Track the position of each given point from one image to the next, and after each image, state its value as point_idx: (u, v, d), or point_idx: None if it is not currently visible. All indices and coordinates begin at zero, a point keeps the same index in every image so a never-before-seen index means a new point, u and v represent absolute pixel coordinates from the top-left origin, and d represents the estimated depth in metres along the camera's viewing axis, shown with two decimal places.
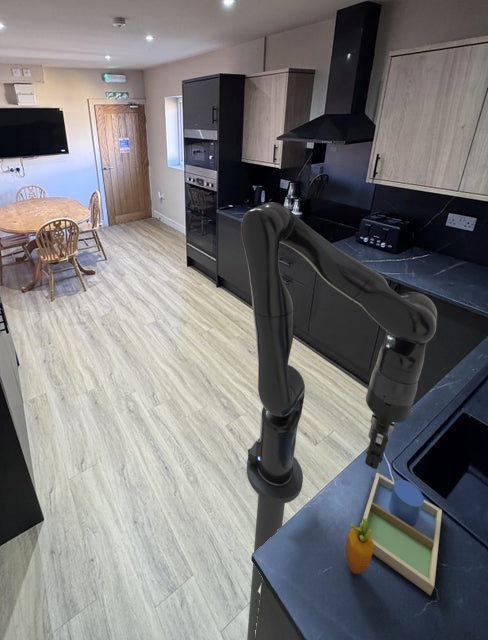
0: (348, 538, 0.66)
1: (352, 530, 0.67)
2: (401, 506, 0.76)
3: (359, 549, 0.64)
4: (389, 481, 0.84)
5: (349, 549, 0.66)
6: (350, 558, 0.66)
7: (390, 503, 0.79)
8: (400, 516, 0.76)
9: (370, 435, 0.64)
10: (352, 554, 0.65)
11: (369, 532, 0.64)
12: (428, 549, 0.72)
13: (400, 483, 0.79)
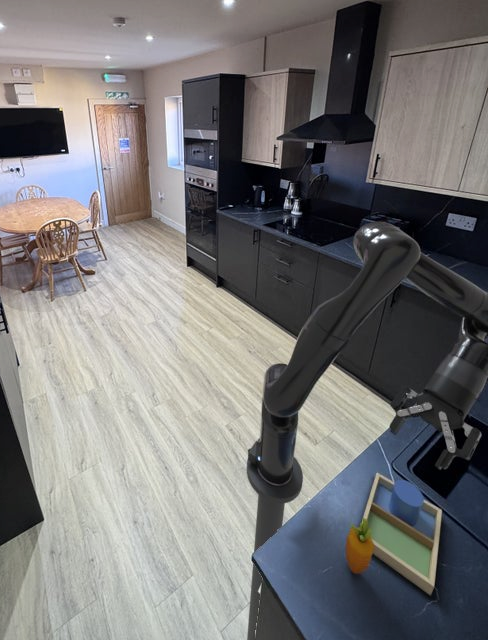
0: (348, 538, 0.66)
1: (352, 530, 0.67)
2: (401, 506, 0.76)
3: (359, 549, 0.64)
4: (389, 481, 0.84)
5: (349, 549, 0.66)
6: (350, 558, 0.66)
7: (390, 503, 0.79)
8: (400, 516, 0.76)
9: (451, 435, 0.62)
10: (352, 554, 0.65)
11: (369, 532, 0.64)
12: (428, 549, 0.72)
13: (400, 483, 0.79)
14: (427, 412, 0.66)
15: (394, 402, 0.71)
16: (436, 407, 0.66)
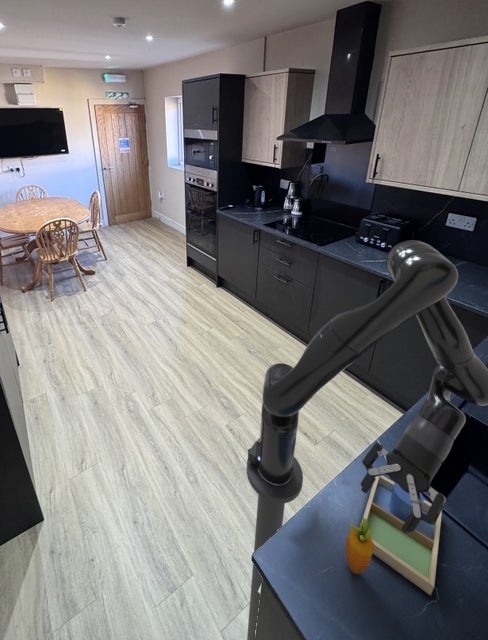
0: (348, 538, 0.66)
1: (352, 530, 0.67)
2: (401, 506, 0.76)
3: (359, 549, 0.64)
4: (389, 481, 0.84)
5: (349, 549, 0.66)
6: (350, 558, 0.66)
7: (390, 503, 0.79)
8: (400, 516, 0.76)
9: (417, 499, 0.64)
10: (352, 554, 0.65)
11: (369, 532, 0.64)
12: (428, 549, 0.72)
13: None
14: (396, 472, 0.69)
15: (366, 460, 0.73)
16: (404, 469, 0.68)
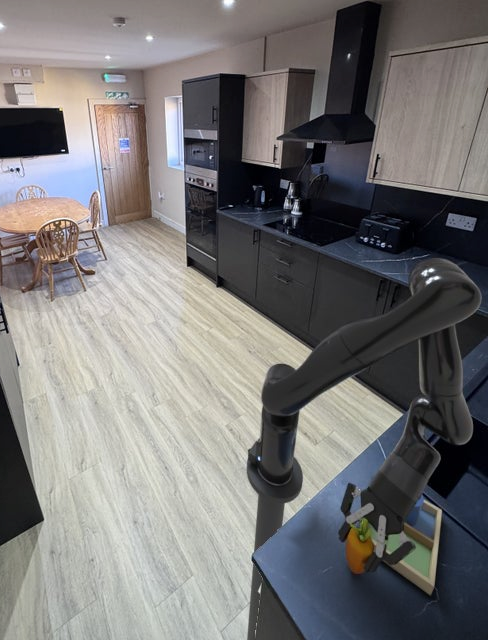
0: (348, 538, 0.66)
1: (352, 530, 0.67)
2: None
3: (359, 549, 0.64)
4: None
5: (349, 549, 0.66)
6: (350, 558, 0.66)
7: None
8: None
9: (384, 540, 0.63)
10: (352, 554, 0.65)
11: (369, 532, 0.64)
12: (428, 549, 0.72)
13: None
14: (369, 512, 0.67)
15: (343, 505, 0.70)
16: (378, 508, 0.66)
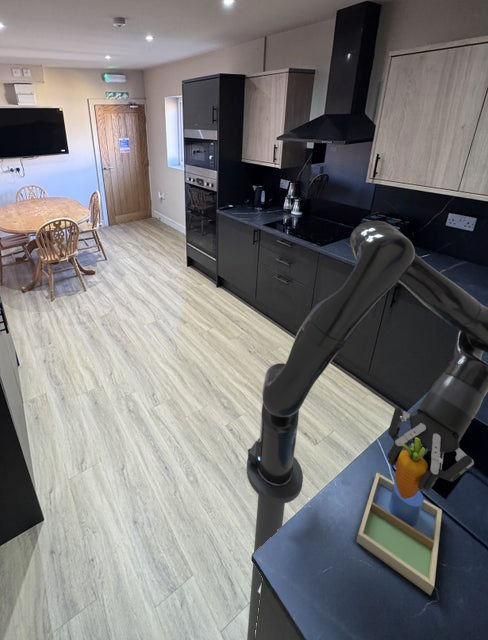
0: (399, 459, 0.64)
1: (403, 452, 0.64)
2: (401, 506, 0.76)
3: (413, 467, 0.61)
4: (389, 481, 0.84)
5: (401, 470, 0.63)
6: (401, 480, 0.63)
7: (390, 503, 0.79)
8: (400, 516, 0.76)
9: (439, 458, 0.60)
10: (404, 474, 0.63)
11: (423, 450, 0.61)
12: (428, 549, 0.72)
13: None
14: (421, 433, 0.64)
15: (391, 430, 0.67)
16: (430, 428, 0.64)
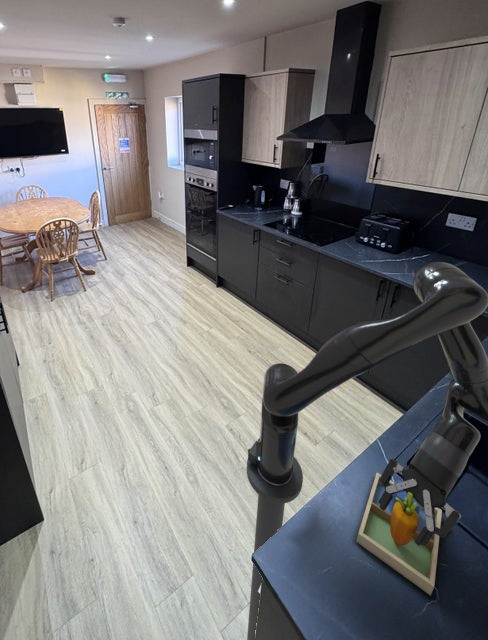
0: (393, 511, 0.70)
1: (397, 504, 0.71)
2: None
3: (405, 520, 0.68)
4: None
5: (395, 522, 0.70)
6: (395, 530, 0.70)
7: (390, 503, 0.79)
8: None
9: (432, 514, 0.66)
10: (397, 526, 0.69)
11: (415, 505, 0.68)
12: (428, 549, 0.72)
13: None
14: (412, 487, 0.71)
15: (383, 477, 0.74)
16: (420, 484, 0.70)
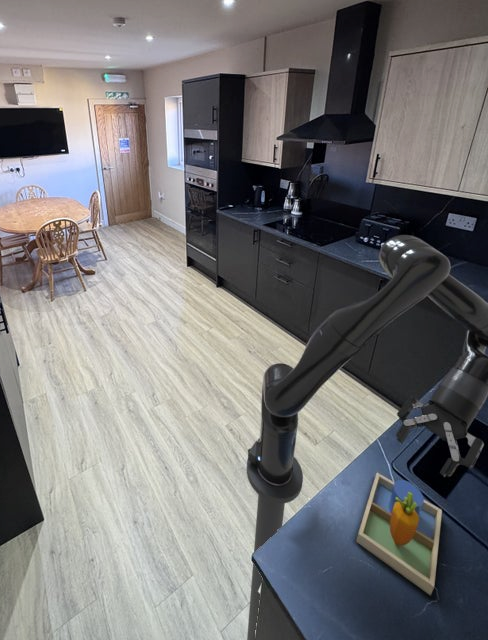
0: (393, 511, 0.70)
1: (397, 504, 0.71)
2: None
3: (405, 520, 0.68)
4: (389, 481, 0.84)
5: (395, 522, 0.70)
6: (395, 530, 0.70)
7: (390, 503, 0.79)
8: None
9: (455, 444, 0.66)
10: (397, 526, 0.69)
11: (415, 504, 0.68)
12: (428, 549, 0.72)
13: (400, 483, 0.79)
14: (432, 422, 0.70)
15: (401, 412, 0.75)
16: (441, 418, 0.70)
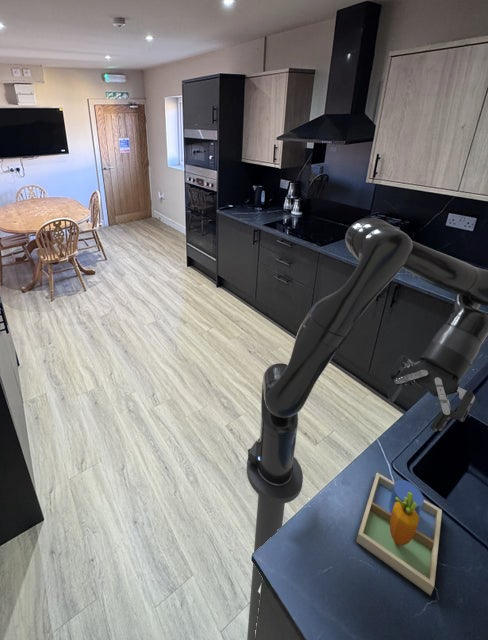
0: (393, 511, 0.70)
1: (397, 504, 0.71)
2: None
3: (405, 520, 0.68)
4: (389, 481, 0.84)
5: (395, 522, 0.70)
6: (395, 530, 0.70)
7: (390, 503, 0.79)
8: None
9: (446, 398, 0.65)
10: (397, 526, 0.69)
11: (415, 504, 0.68)
12: (428, 549, 0.72)
13: (400, 483, 0.79)
14: (423, 378, 0.69)
15: (392, 371, 0.73)
16: (432, 374, 0.69)
